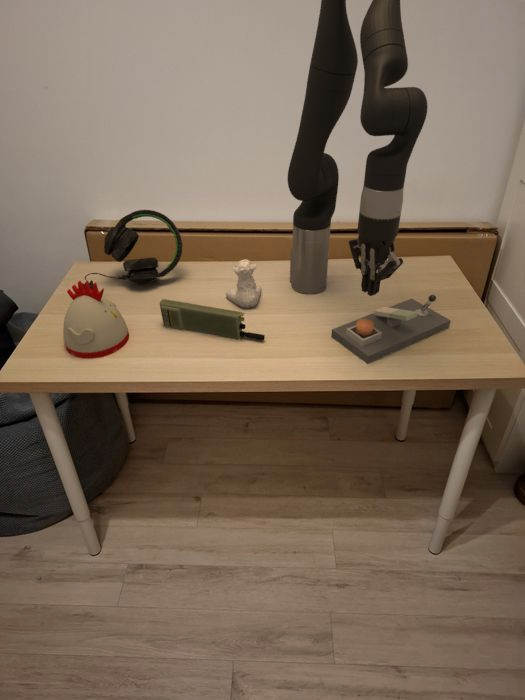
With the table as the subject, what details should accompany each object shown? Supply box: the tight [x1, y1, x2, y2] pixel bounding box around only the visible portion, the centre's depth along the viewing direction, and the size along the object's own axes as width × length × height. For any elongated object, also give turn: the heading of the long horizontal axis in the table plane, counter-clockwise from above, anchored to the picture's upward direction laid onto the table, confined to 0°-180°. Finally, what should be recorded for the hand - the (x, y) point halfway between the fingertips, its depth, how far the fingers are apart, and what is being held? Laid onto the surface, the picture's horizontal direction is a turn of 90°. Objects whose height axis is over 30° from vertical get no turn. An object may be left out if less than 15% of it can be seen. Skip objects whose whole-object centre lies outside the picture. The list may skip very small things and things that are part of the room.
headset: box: [82, 209, 183, 290], centre depth 126 cm, size 18×14×29 cm
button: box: [356, 318, 374, 336], centre depth 104 cm, size 4×4×2 cm
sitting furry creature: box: [225, 258, 262, 309], centre depth 119 cm, size 10×9×12 cm
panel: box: [330, 297, 452, 365], centre depth 109 cm, size 12×25×4 cm, turn 122°
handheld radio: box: [159, 298, 266, 341], centre depth 109 cm, size 7×3×25 cm
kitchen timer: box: [62, 280, 130, 359], centre depth 105 cm, size 14×14×15 cm
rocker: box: [373, 306, 417, 321], centre depth 108 cm, size 10×3×1 cm, turn 32°
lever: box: [421, 294, 437, 312], centre depth 110 cm, size 2×2×6 cm
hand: (369, 292), depth 99 cm, fingers closed
